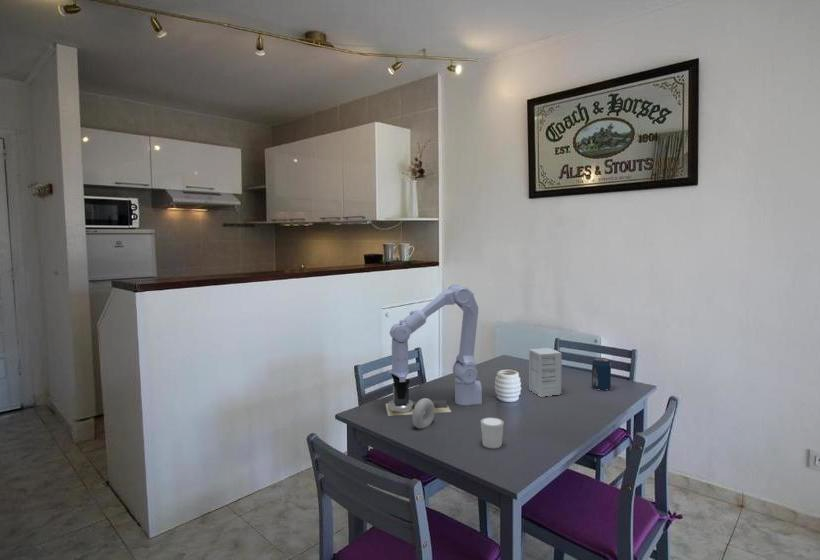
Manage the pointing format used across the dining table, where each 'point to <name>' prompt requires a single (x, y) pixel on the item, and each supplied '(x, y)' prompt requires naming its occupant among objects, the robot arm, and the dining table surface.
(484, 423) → the shot glass
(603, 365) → the soda can
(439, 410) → the board
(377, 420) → the dining table surface
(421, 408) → the donut
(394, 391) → the charcoal matte cube
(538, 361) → the supplement box
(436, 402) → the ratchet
